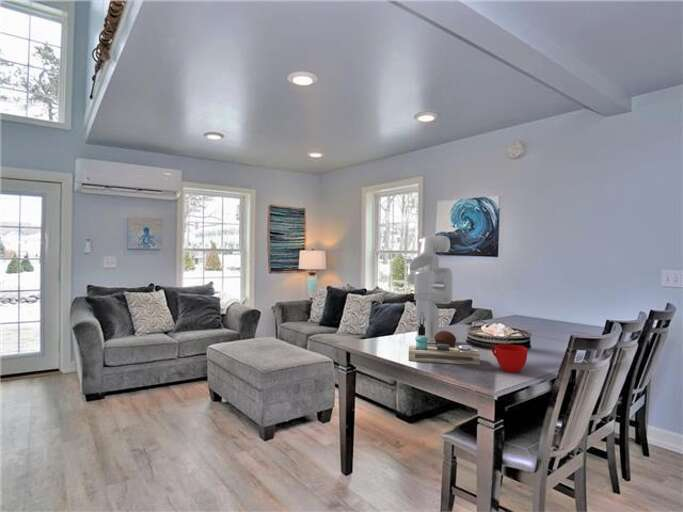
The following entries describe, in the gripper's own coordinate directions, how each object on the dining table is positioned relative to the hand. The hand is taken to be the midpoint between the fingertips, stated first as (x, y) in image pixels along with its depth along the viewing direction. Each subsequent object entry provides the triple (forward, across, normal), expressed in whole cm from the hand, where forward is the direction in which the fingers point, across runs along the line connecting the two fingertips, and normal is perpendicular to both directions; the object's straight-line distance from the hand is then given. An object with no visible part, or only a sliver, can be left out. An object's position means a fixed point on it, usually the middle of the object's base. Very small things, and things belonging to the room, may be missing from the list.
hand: (421, 335), depth 200 cm
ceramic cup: (+12, +10, +37) cm, 40 cm away
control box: (+11, 0, +10) cm, 15 cm away
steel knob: (+12, 0, +20) cm, 23 cm away
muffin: (+12, -20, +12) cm, 26 cm away
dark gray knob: (+12, 0, +10) cm, 15 cm away
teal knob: (+8, 0, 0) cm, 9 cm away
